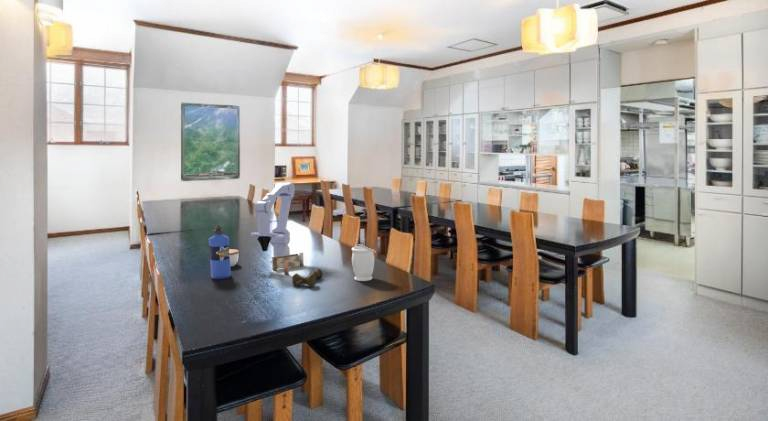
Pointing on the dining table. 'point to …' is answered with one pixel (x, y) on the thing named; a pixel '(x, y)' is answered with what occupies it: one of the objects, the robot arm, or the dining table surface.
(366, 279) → the jar
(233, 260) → the lidded jar
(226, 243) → the water bottle
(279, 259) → the tan flat block
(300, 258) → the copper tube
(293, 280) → the dog chew
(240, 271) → the dining table surface
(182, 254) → the dining table surface
